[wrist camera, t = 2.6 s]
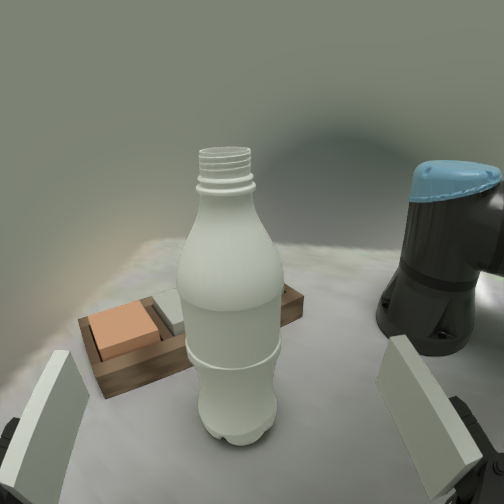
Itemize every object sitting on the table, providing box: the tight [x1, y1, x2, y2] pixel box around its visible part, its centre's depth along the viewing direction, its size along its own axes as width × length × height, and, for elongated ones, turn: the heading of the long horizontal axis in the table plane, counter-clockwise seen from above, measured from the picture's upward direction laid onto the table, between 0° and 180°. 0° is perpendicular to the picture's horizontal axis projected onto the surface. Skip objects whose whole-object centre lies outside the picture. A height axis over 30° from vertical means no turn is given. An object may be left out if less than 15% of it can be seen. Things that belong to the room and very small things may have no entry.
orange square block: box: [88, 300, 161, 361], centre depth 36 cm, size 7×7×3 cm
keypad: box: [78, 284, 304, 399], centre depth 41 cm, size 28×12×4 cm, turn 125°
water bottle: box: [176, 147, 284, 446], centre depth 23 cm, size 7×7×25 cm
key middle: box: [152, 288, 185, 337], centre depth 41 cm, size 7×7×3 cm
